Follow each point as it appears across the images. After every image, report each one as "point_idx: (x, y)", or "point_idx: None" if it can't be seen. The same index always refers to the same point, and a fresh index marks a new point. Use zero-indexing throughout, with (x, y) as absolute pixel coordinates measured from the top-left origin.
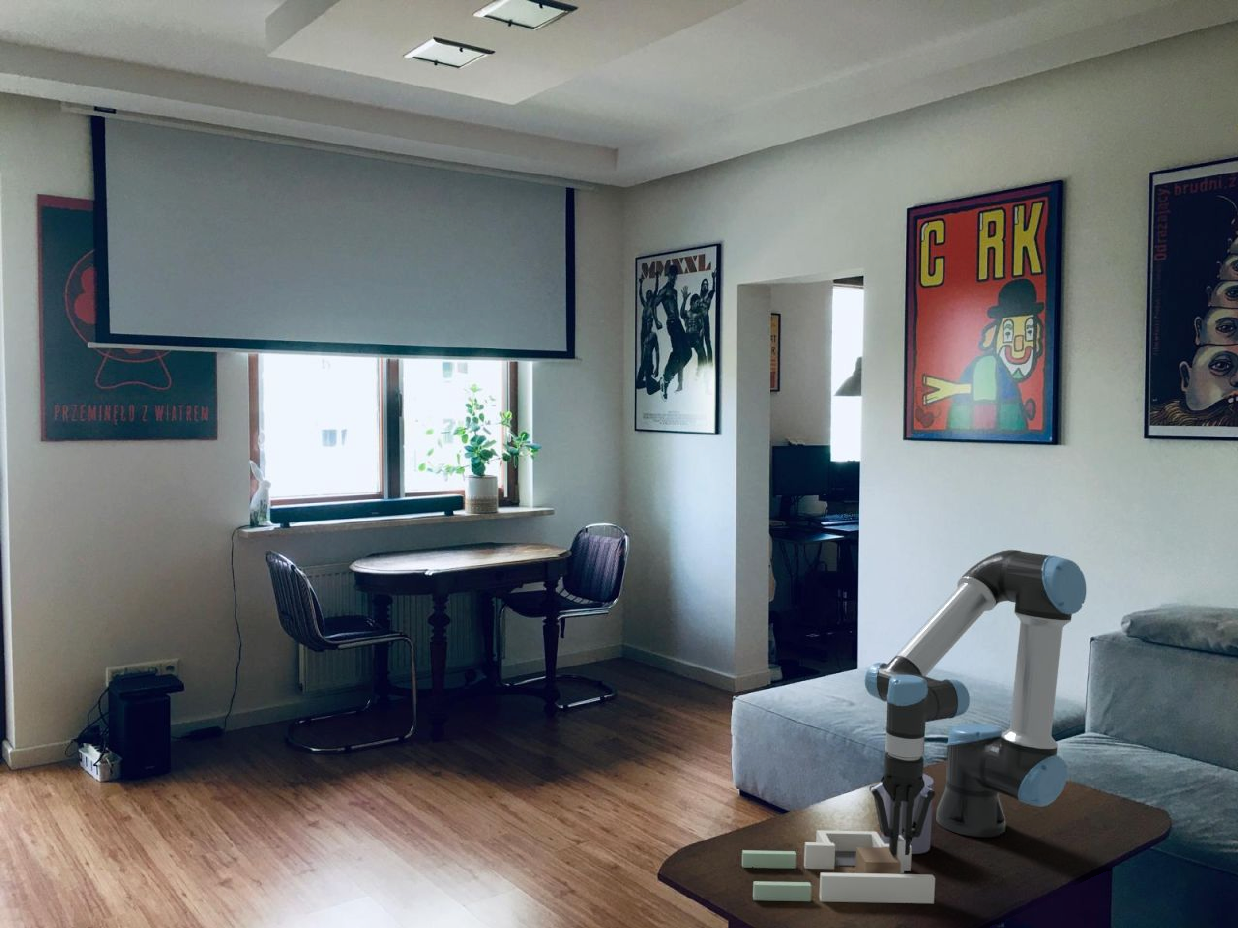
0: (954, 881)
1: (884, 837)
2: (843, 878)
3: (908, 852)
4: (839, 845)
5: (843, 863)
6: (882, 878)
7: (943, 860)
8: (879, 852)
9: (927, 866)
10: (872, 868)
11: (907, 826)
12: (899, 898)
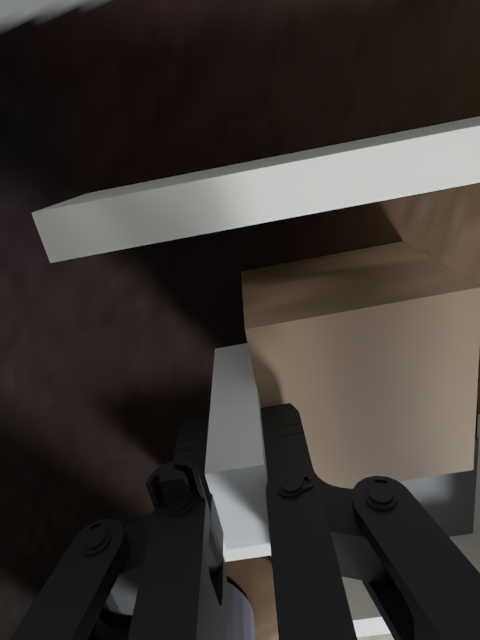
0: (4, 415)
1: (250, 630)
2: None
3: (185, 431)
4: None
5: None
6: (386, 143)
7: (51, 550)
8: (352, 432)
9: (108, 502)
10: (415, 280)
11: (181, 601)
12: (256, 161)
